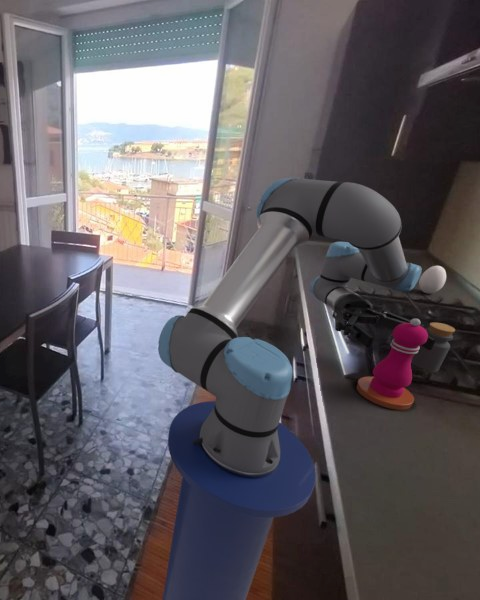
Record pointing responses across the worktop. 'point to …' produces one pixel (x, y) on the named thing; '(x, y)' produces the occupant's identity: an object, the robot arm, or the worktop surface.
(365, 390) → the trivet
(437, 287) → the egg
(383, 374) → the pepper mill
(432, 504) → the worktop surface
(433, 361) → the bottle
